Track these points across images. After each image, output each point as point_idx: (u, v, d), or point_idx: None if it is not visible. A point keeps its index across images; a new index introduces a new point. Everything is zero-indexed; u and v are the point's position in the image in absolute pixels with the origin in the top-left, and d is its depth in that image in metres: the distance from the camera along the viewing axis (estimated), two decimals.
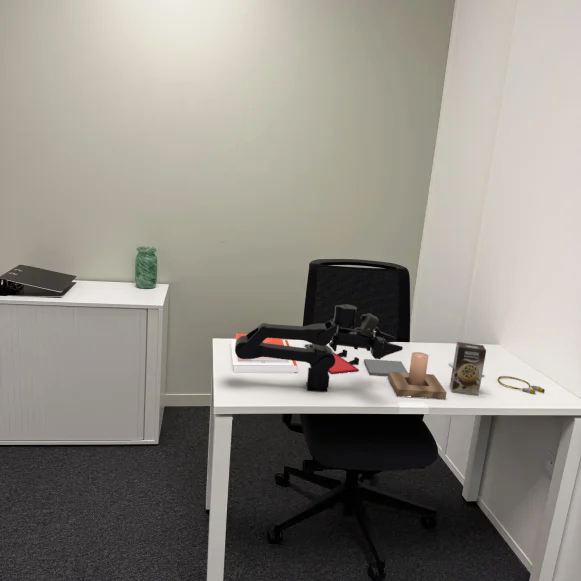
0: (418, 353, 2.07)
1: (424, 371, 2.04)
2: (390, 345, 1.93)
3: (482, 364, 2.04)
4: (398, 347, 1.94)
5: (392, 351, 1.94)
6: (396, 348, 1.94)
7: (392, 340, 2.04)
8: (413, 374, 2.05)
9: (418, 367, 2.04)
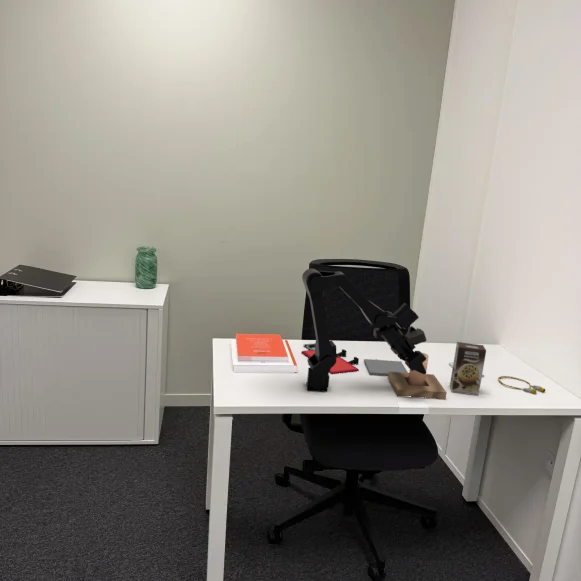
0: None
1: None
2: (421, 364, 2.01)
3: (482, 364, 2.04)
4: (424, 370, 2.03)
5: (418, 370, 2.02)
6: (422, 370, 2.03)
7: None
8: (413, 374, 2.05)
9: None
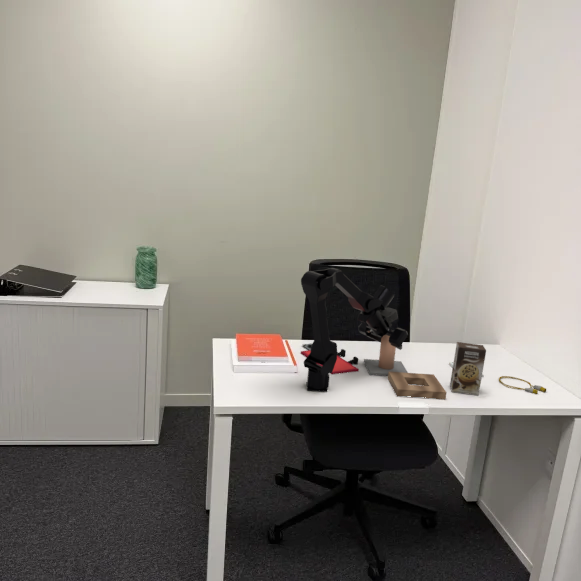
0: None
1: (395, 349, 2.21)
2: None
3: (482, 364, 2.04)
4: (401, 346, 2.19)
5: (398, 346, 2.17)
6: (400, 346, 2.18)
7: (380, 340, 2.25)
8: (387, 353, 2.20)
9: (391, 346, 2.19)
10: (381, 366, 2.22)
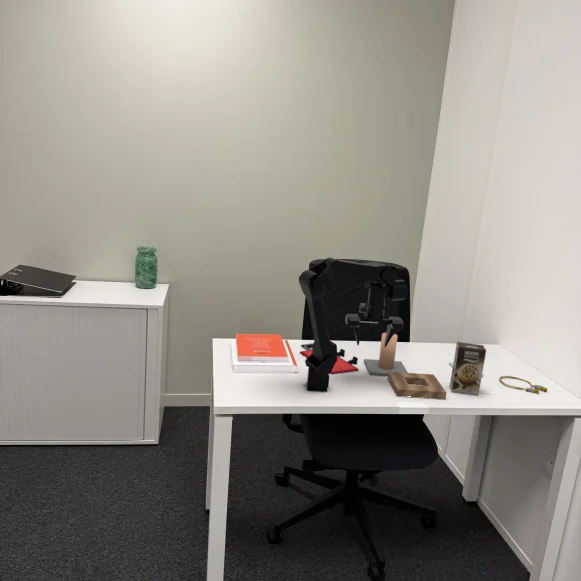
0: None
1: (395, 349, 2.22)
2: None
3: (482, 364, 2.04)
4: None
5: None
6: None
7: None
8: (388, 353, 2.20)
9: (392, 346, 2.20)
10: (381, 366, 2.22)
